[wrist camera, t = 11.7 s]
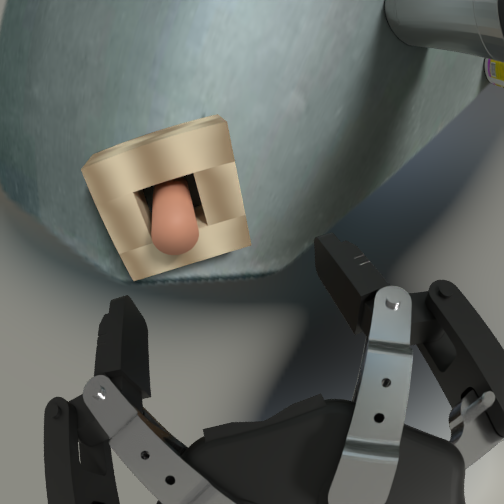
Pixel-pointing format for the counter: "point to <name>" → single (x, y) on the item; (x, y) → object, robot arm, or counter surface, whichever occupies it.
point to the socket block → (160, 170)
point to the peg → (173, 217)
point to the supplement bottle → (495, 72)
